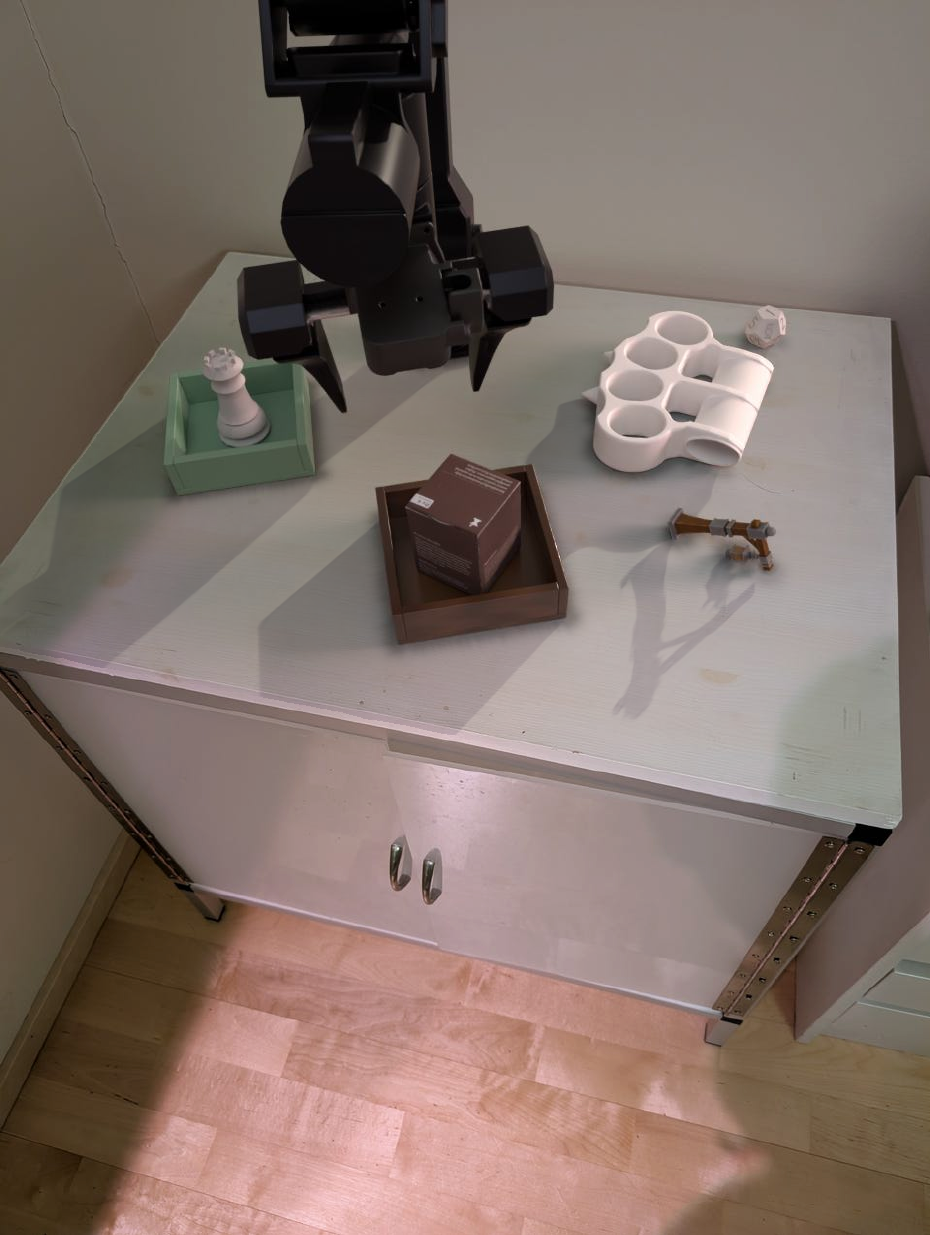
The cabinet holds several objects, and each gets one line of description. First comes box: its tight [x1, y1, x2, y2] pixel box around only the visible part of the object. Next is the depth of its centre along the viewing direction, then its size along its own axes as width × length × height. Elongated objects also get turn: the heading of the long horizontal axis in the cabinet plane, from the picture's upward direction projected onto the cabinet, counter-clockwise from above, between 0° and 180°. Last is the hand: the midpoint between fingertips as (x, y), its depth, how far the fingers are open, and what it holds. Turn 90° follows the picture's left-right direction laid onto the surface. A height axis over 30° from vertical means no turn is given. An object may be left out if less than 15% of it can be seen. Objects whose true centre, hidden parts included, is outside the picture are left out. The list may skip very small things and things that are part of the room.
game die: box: [745, 304, 787, 349], centre depth 76 cm, size 4×4×3 cm
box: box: [405, 453, 521, 596], centre depth 61 cm, size 6×6×7 cm
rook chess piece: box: [202, 347, 270, 448], centre depth 70 cm, size 4×4×8 cm
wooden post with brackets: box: [666, 506, 777, 572], centre depth 62 cm, size 2×8×4 cm, turn 55°
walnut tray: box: [374, 463, 570, 645], centre depth 63 cm, size 12×12×4 cm
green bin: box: [162, 358, 316, 496], centre depth 72 cm, size 12×12×4 cm
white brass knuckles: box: [579, 310, 775, 473], centre depth 72 cm, size 3×18×15 cm
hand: (409, 398), depth 58 cm, fingers open, 9 cm apart
